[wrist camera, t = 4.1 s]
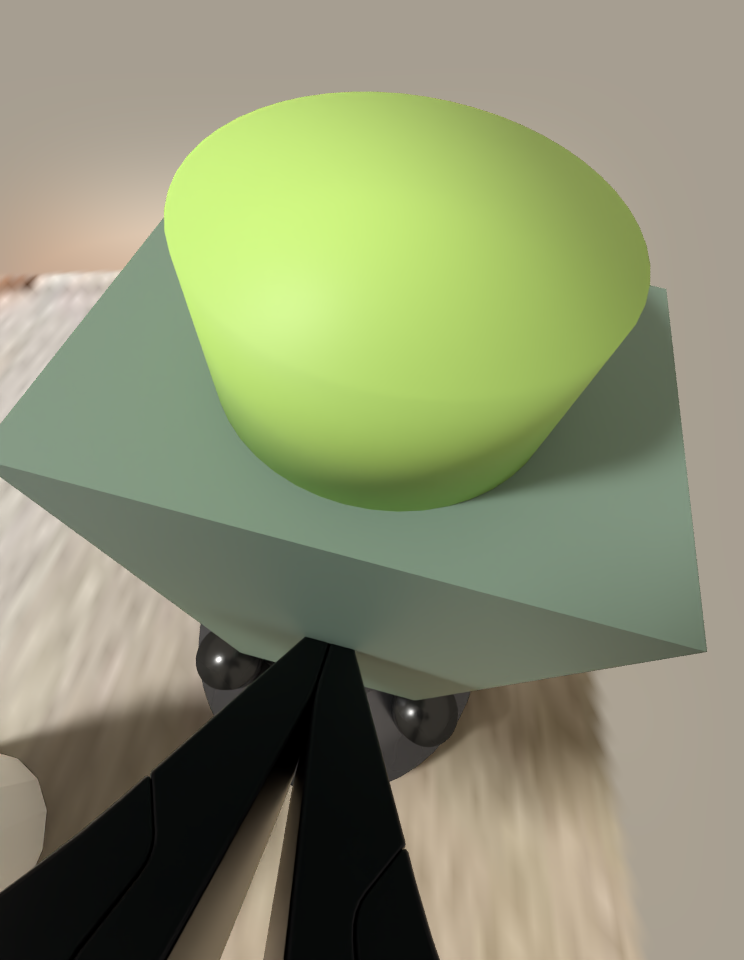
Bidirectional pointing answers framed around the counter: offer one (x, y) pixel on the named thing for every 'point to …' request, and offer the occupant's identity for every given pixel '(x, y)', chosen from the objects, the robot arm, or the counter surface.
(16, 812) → the white cup
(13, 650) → the counter surface
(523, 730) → the counter surface
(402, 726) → the base
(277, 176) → the dome-topped green pillar
